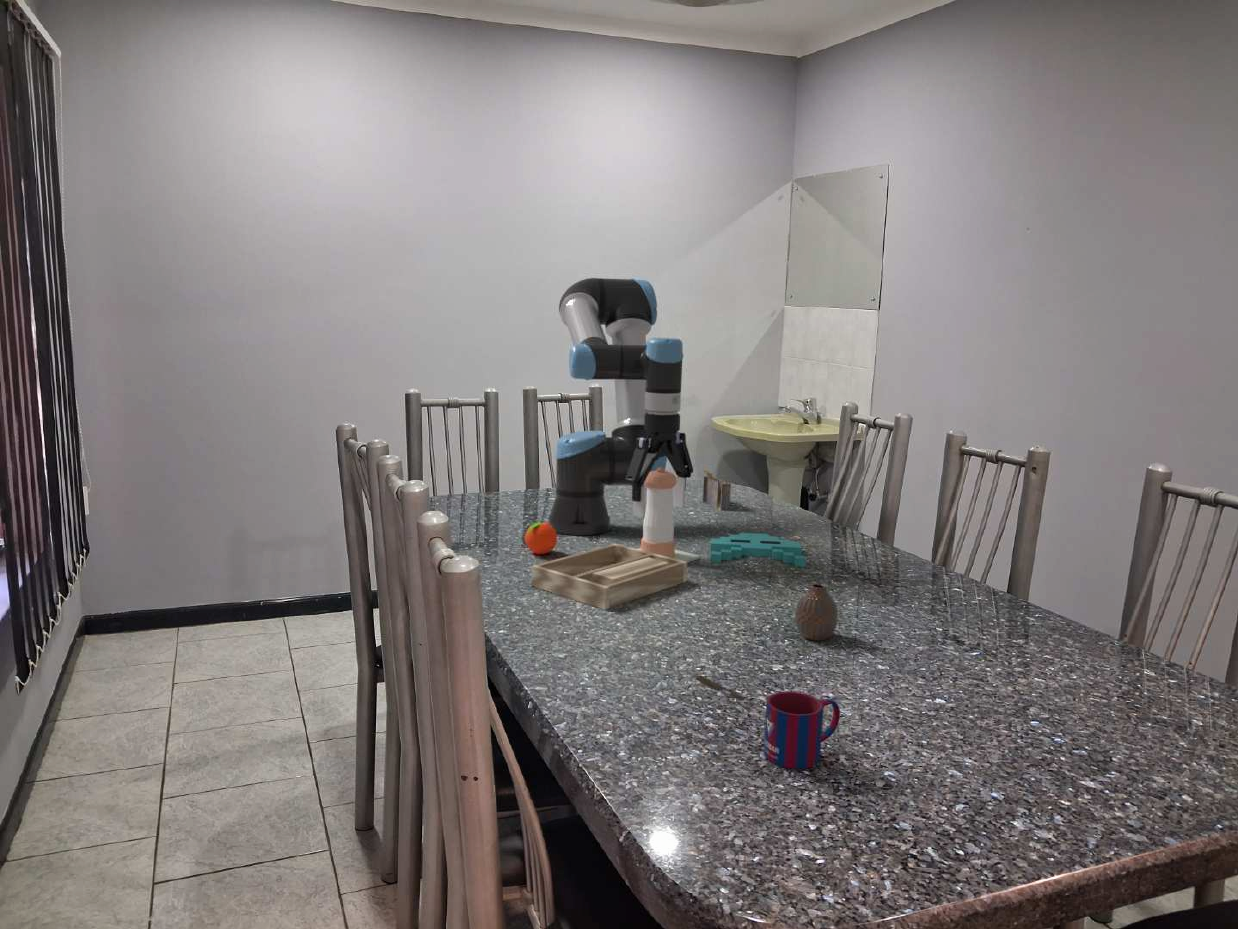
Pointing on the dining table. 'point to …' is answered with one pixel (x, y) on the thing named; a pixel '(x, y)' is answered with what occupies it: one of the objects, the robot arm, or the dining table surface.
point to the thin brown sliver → (718, 687)
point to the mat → (684, 556)
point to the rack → (581, 587)
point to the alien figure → (756, 548)
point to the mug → (796, 729)
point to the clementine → (541, 538)
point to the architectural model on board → (716, 492)
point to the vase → (816, 613)
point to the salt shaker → (659, 514)
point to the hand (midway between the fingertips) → (659, 511)
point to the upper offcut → (627, 571)
